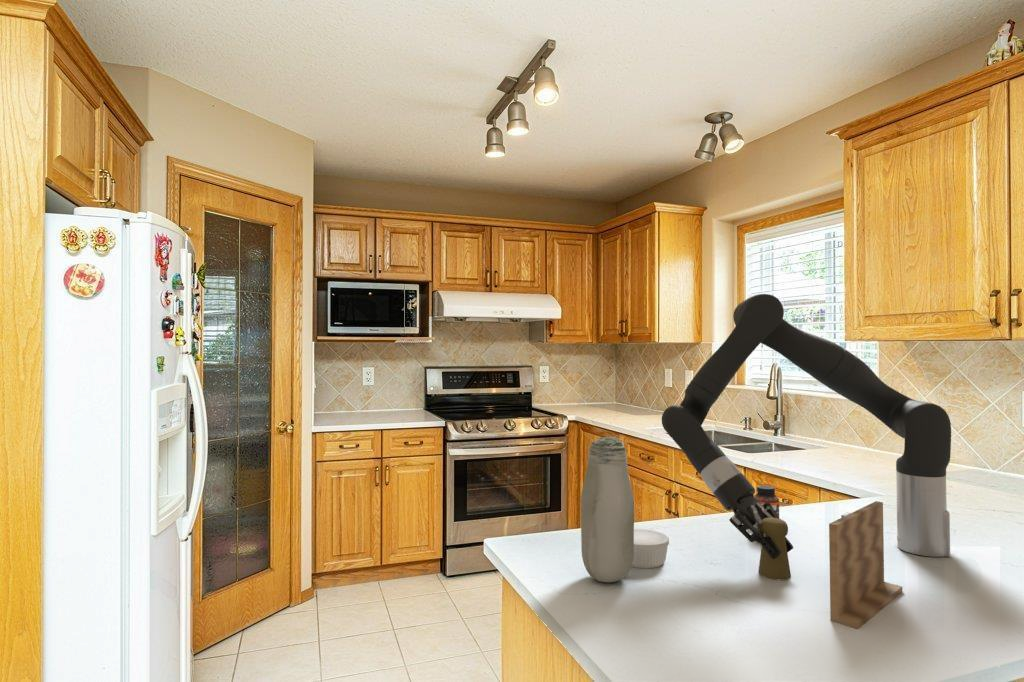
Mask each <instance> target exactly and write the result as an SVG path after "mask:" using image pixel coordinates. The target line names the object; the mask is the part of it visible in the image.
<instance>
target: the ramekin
mask: <svg viewBox="0 0 1024 682" xmlns="http://www.w3.org/2000/svg"><path fill="white" fill-rule="evenodd" d="M669 545H670V538H669V537H668V536H667V534H665V533H663V532H660V531H656V530H651V529H638V528H637V529H636V528H634V557H633V563H632V566H631V568H632V567H633V568H639V569H653V568H654V569H655V568H658V567H661V566H662V565H663V564H664V563H665V562H666V558H667V552H668V546H669Z"/></svg>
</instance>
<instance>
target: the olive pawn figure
mask: <svg viewBox="0 0 1024 682" xmlns="http://www.w3.org/2000/svg"><path fill="white" fill-rule="evenodd" d="M762 522H763V526H762V528H763V529H764V531H765V532H766V533H767V535H768V537H770V538H771V540H772V541H773V542H774V543H775V544H776V546H777V547H778V548H779V549H780V551H781V553H782V554H781V555H780V556H778V557H777V558H775V559H772V558H771V557H770V555H769V554H768V553H767V552H766V550H765V549H764V548H763V547H762V546H761V548H760V556H759V557H760V558H759V564H758V571H757V572H758V574H759V575H760V576H761V577H764V578H767V579H770V580H777V579H781V580H780V581H782V580H783V579H784V580H788V578H789V579H791V577H792V574H791V567H790V561H789V554H788V553H789V552H788V553H787V547H786V540H785V537H786V536H787V535H788V533H789V527H788V523H787V522H786V521H785V520H783V519H781V518H780V519H778V518H764V519H763V520H762ZM768 537H767V538H768ZM786 538H787V537H786Z"/></svg>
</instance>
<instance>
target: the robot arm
mask: <svg viewBox="0 0 1024 682" xmlns="http://www.w3.org/2000/svg"><path fill="white" fill-rule="evenodd" d="M784 311H785V309H784V306H783V304H782V302H781V301H780V299H779V298H778V297H777V296H774V295H773V294H769V293H758V294H754V295H752V296H749V298H747V299H745V300H743V301H742V302H740V303H739V304H738V305H737V306H736V307H735V308H734V311H733V316H732V317H733V318H732V319H733V322H734V324H735V327H734V328H733V329H732V331H731V332H730V334H729V336H727V338H726V339H725V340H724V342H723V343H722V344H720V346H719V347H718V349H717V350H716V351H714V353H713V354H712V355H711V356H710V357H709V358H708V359H707V360H706V361H705V363H704V364H703V365H702V366H701V367H700V369H699V370H698V371H697V372H696V374H695V375H694V377H693V378H692V379H691V380H690V382H689V383H688V385H687V386H686V389H685V390H684V397H683V400H682V401H681V403H680V404H679V405H678V404H675V405H670V406H669V407H667V408H666V409H664V411H663V412H662V414H661V425H662V428H663V429H664V431H665V432H666V433H667V434H668V436H669V437H670V438H671V439H672V440H673V441H674V443H676V445H677V446H678V447H679V449H680V450H682V452H683V453H684V454H685V456H686V458H687V460H689V462H690V464H691V465H692V467H693V468H694V469H695V470H696V472H697V473H698V474H699V475H700V477H701V478H702V480H703V482H704V484H705V485H706V486H707V488H708V490H710V492H712V494H713V495H714V497H715V498H716V500H717V501H719V503H720V504H721V506H722V507H723V508H724V510H726V511H728V512H729V511H730V512H731V511H732V512H733V515H732V516H731V517H730V518H729V522H730V523H731V524H732V525H733V526H734V527H735V528H736V529H737V530H738V531H739V532H740V533H741V534H742V536H744V537H745V538H746V539H747V540H748V541H749V542H750V543H754V542H756V543H757V544H759V545H761V547H763V548H764V549H765V550H766V552H767V553H768V554H769V555H770V557H771V558H772V559H775V558H777V557H778V556H780V555H781V554H782V553H781V551H780V549H779V548H778V547H777V546H776V544H775V543H774V542H773V541H772V540H771V538H770V537H768V535H767V533H766V532H765V531H764V529H763V528H762V526H763V522H762V520H763V519H764V518H778V519H781V518H780V516H779V517H778V515H777V514H776V512H775V510H774V509H773V507H772V506H771V504H770V503H769V502H766V503H764V504H761V503H760V502H759V501H758V500H757V499H755V498H754V495H755V493H756V488H755V487H754V486H753V484H752V483H751V482H750V481H749V480H748V478H746V476H745V475H744V474H743V473H742V471H741V470H740V469H739V467H738V466H737V465H736V464H735V462H733V461H732V460H731V459H730V458H729V457H728V456H727V455H726V454H725V453H724V451H723V450H722V449H721V448H720V447H719V445H718V444H717V443H716V442H715V441H714V440H713V439H712V438H711V437H710V436H709V435H708V434H707V432H706V431H705V429H704V428H703V427H702V426H703V423H704V421H705V419H706V418H707V416H708V415H709V411H710V409H711V408H712V406H713V405H714V404H715V403H716V401H718V399H719V397H720V396H721V395H722V393H723V392H724V391H725V389H726V388H727V386H728V385H729V384H730V382H731V381H732V379H733V378H734V377H735V375H736V374H737V372H738V371H739V370H740V368H741V367H742V365H743V364H744V363H745V362H746V361H747V359H748V358H749V357H750V355H751V354H752V353H753V352H754V351H755V350H756V349H757V347H758V346H759V345H760V344H762V345H764V346H766V347H767V348H769V349H771V350H774V352H777V353H778V354H780V355H781V356H783V358H786V359H787V361H789V362H790V363H792V364H794V365H795V366H796V367H797V368H799V369H801V370H802V371H803V372H805V373H807V374H808V375H809V376H811V377H812V378H813V379H815V380H816V381H817V382H820V383H821V384H822V385H824V386H825V387H827V388H828V389H830V390H832V391H833V392H835V393H837V394H838V395H840V396H842V397H843V398H844V399H847V400H848V401H850V402H852V403H855V404H856V405H858V406H860V407H862V409H865V411H868V412H869V413H870V414H871V415H872V416H874V417H875V418H877V419H878V420H879V421H880V422H881V423H883V424H884V425H885V426H886V427H888V428H889V429H890V430H891V431H892V432H893V433H895V434H896V435H897V436H899V437H901V438H902V439H904V445H903V446H904V447H903V448H904V449H903V454H901V456H899V457H897V459H896V461H895V471H896V472H895V475H896V476H895V479H896V481H895V482H896V533H897V534H896V540H897V541H896V542H897V543H896V544H897V545H896V546H897V547H898V549H900V550H902V551H903V552H906V553H910V554H913V555H917V556H925V557H937V558H939V557H940V558H941V557H949V558H950V557H951V527H950V526H951V524H950V523H951V521H950V519H951V518H950V517H951V515H950V512H949V511H948V510H947V508H948V507H947V505H948V504H947V468H948V466H949V464H950V460H951V453H952V452H951V449H952V448H951V447H952V424H951V420H950V415H949V414H948V412H947V411H946V409H944V408H943V407H942V406H940V405H938V404H935V403H933V402H927V401H922V400H921V401H920V400H916V399H914V398H911V397H909V396H907V395H905V394H903V393H901V392H900V391H898V390H895V389H894V388H893V387H891V386H889V385H888V384H886V383H885V382H883V380H881V379H880V377H878V376H877V374H876V373H875V372H874V371H873V370H872V369H871V368H870V367H869V365H867V363H865V362H864V361H863V360H862V359H861V358H859V357H858V356H856V355H854V354H853V353H852V352H850V351H849V350H847V349H845V348H844V347H843V346H841V345H839V344H838V343H835V342H833V341H831V340H829V339H826V338H823V337H821V336H819V335H815V334H813V333H810V332H807V331H804V330H801V329H799V328H797V327H796V326H794V325H792V324H791V323H790V322H788V321H786V320H785V319H784V314H785V313H784ZM758 530H759V531H760V532H759V531H758ZM767 537H768V538H767ZM785 540H786V547H787V553H789V552H790V551H792V550H793V549H794V545H793V544H792V543H791V541H790V540H789V539H788V538H787V537H785Z"/></svg>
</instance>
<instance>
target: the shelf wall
mask: <svg viewBox="0 0 1024 682" xmlns="http://www.w3.org/2000/svg"><path fill="white" fill-rule="evenodd" d="M849 513H850V514H848V515H846V516H844V517H842V518H841V517H840V518H838V519H835V520H834V521H832V522H830V523H828V534H829V536H828V537H829V539H828V540H829V541H828V542H829V546H828V547H829V594H830V595H829V611H830V612H829V613H830V616H829V617H830V621H833V622H836V623H839V624H842V625H845V626H847V627H851V628H854V629H857V630H858V629H860V628H862V626H863V625H864V624H866V623H867V622H868V621H869V620H871V619H872V618H873V617H874V616H875V615H876V614H877V613H879V612H880V611H882V610H883V609H884V608H885V607H886V606H888V605H889V604H890V603H891V602H892V601H893V600H895V599H896V598H897V597H898V596H899V595H901V594H902V593H903V586H902V585H898V584H894V583H890V582H888V581H885V559H884V558H885V556H884V555H885V550H884V544H885V543H884V539H885V538H884V502H883V501H878V500H877V501H873V502H871V503H870V504H867V505H866V506H863V507H861V508H858V509H857V510H855V511H852V512H849Z"/></svg>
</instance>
